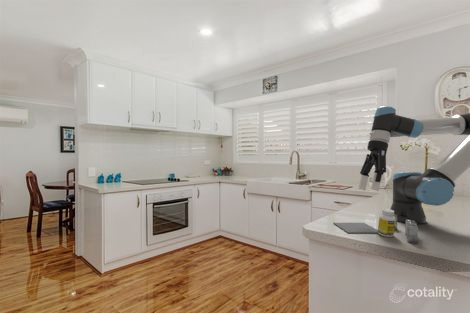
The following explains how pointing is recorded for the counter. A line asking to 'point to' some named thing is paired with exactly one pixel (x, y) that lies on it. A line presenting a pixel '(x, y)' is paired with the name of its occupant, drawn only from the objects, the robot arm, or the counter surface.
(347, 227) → the mat
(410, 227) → the spacer field
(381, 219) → the supplement bottle
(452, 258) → the counter surface
